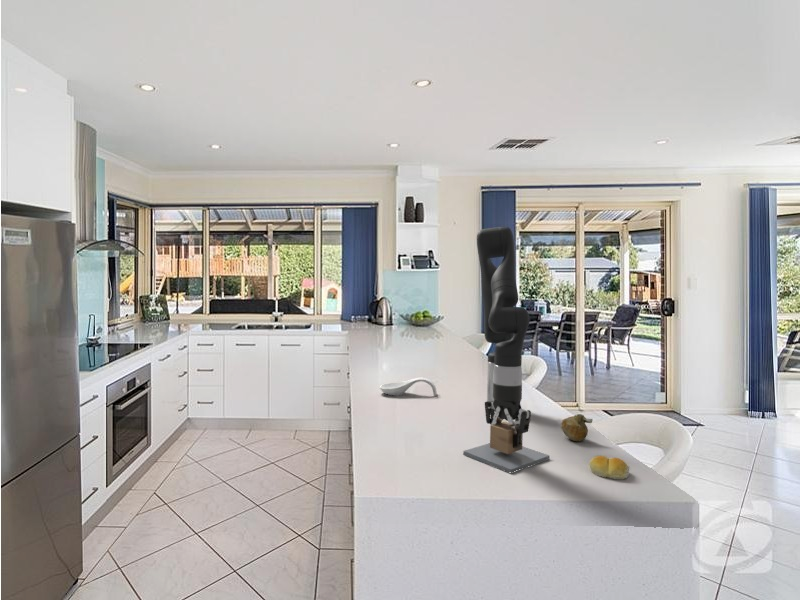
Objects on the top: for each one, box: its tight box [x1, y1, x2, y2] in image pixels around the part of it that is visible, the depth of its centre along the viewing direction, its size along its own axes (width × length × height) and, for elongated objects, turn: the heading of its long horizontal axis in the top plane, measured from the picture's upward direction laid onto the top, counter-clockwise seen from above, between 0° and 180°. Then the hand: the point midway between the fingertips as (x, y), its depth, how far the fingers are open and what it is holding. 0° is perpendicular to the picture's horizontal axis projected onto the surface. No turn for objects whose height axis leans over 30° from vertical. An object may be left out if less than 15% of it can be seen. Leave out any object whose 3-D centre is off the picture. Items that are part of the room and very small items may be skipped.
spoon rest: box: [379, 377, 438, 397], centre depth 199 cm, size 24×12×7 cm, turn 86°
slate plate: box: [462, 442, 550, 474], centre depth 128 cm, size 16×16×1 cm
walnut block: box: [489, 421, 524, 454], centre depth 128 cm, size 6×6×6 cm
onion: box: [560, 414, 593, 442], centre depth 143 cm, size 8×8×8 cm
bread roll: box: [588, 455, 630, 480], centre depth 118 cm, size 8×9×4 cm
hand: (506, 443), depth 128 cm, fingers closed on walnut block, 6 cm apart
